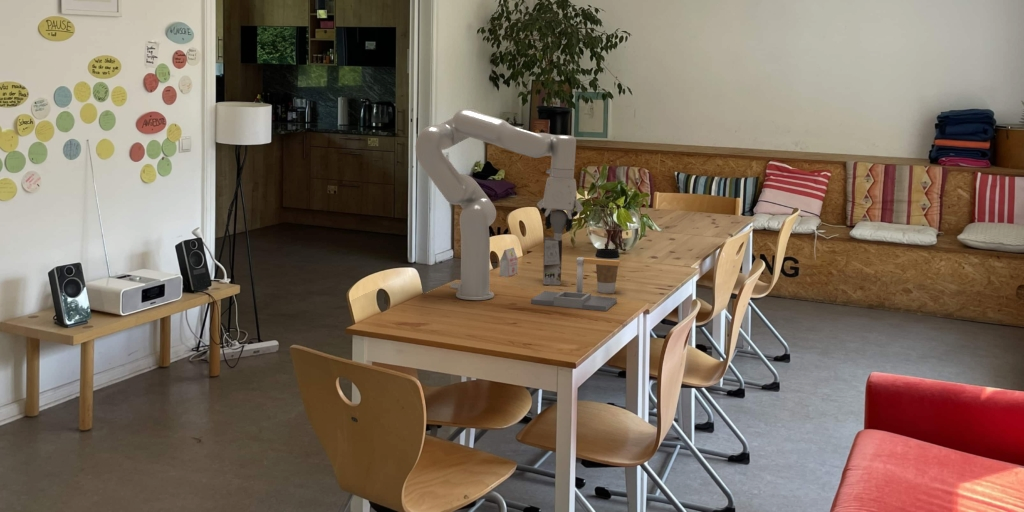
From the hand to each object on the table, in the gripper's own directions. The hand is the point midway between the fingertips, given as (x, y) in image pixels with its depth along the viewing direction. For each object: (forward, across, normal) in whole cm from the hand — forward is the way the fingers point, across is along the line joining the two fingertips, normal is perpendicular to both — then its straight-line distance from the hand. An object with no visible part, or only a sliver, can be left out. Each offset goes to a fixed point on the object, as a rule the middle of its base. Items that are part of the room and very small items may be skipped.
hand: (558, 229), depth 307 cm
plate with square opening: (+24, +7, +2) cm, 25 cm away
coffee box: (+25, -11, +30) cm, 40 cm away
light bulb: (+4, 0, 0) cm, 4 cm away
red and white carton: (+25, -30, +36) cm, 53 cm away
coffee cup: (+24, +11, +24) cm, 35 cm away
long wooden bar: (+11, +12, +8) cm, 18 cm away
